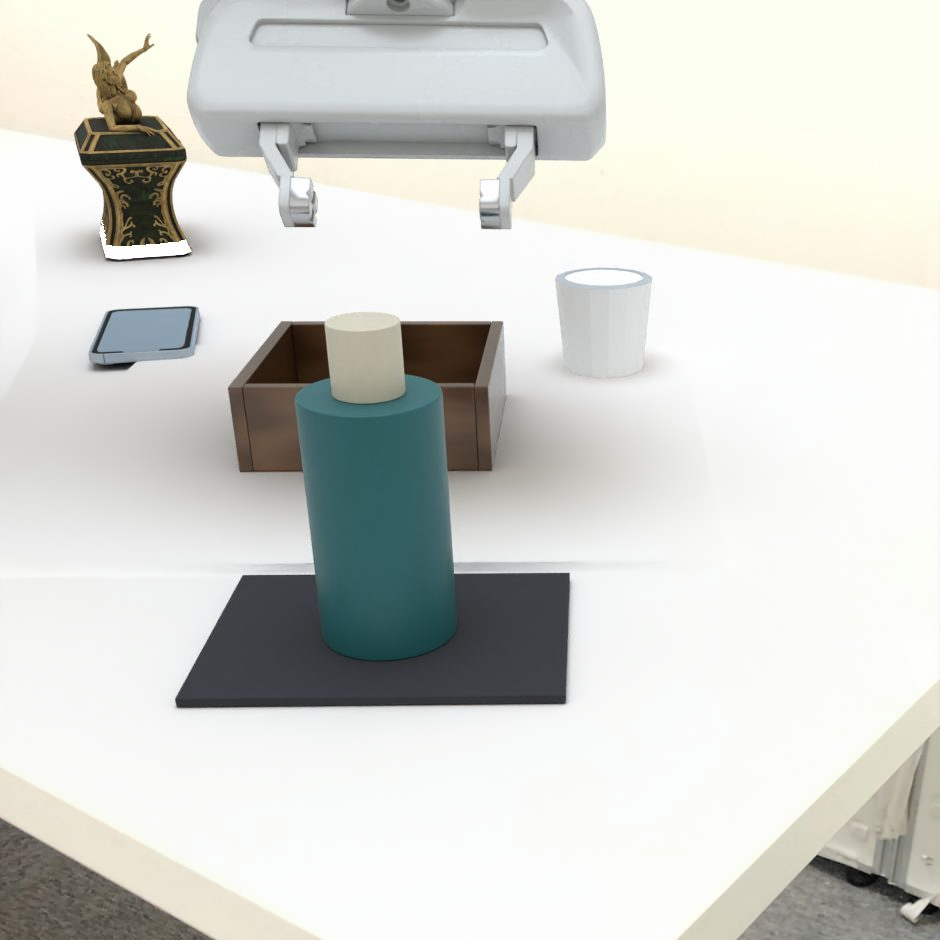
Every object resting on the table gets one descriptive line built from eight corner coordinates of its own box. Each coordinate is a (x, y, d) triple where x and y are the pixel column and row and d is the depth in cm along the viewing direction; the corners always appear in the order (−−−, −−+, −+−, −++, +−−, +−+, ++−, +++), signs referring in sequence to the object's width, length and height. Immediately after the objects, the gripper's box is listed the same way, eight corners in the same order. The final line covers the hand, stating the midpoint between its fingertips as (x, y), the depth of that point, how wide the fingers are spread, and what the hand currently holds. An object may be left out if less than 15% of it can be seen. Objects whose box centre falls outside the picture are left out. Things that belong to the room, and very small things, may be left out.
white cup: (668, 379, 96) (670, 281, 92) (584, 393, 93) (582, 292, 89) (622, 355, 101) (622, 262, 98) (541, 368, 98) (538, 271, 95)
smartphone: (200, 305, 110) (193, 349, 97) (201, 316, 111) (194, 362, 98) (105, 309, 109) (86, 355, 96) (107, 321, 109) (88, 368, 96)
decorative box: (204, 258, 130) (173, 37, 121) (99, 266, 127) (59, 39, 117) (183, 222, 146) (154, 25, 137) (90, 228, 143) (54, 26, 134)
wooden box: (240, 481, 77) (227, 387, 75) (290, 403, 90) (281, 321, 88) (492, 480, 78) (488, 386, 75) (506, 402, 91) (503, 320, 88)
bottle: (311, 662, 57) (271, 340, 51) (334, 600, 63) (301, 302, 56) (450, 661, 57) (429, 340, 51) (462, 599, 63) (444, 302, 56)
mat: (176, 707, 55) (174, 698, 54) (243, 581, 65) (242, 574, 65) (565, 703, 55) (565, 694, 55) (569, 579, 66) (569, 572, 66)
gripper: (182, -66, 64) (155, 177, 60) (606, -59, 65) (607, 182, 61) (218, 29, 70) (195, 257, 66) (604, 35, 71) (606, 260, 67)
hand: (396, 221), depth 64 cm, fingers open, 8 cm apart
